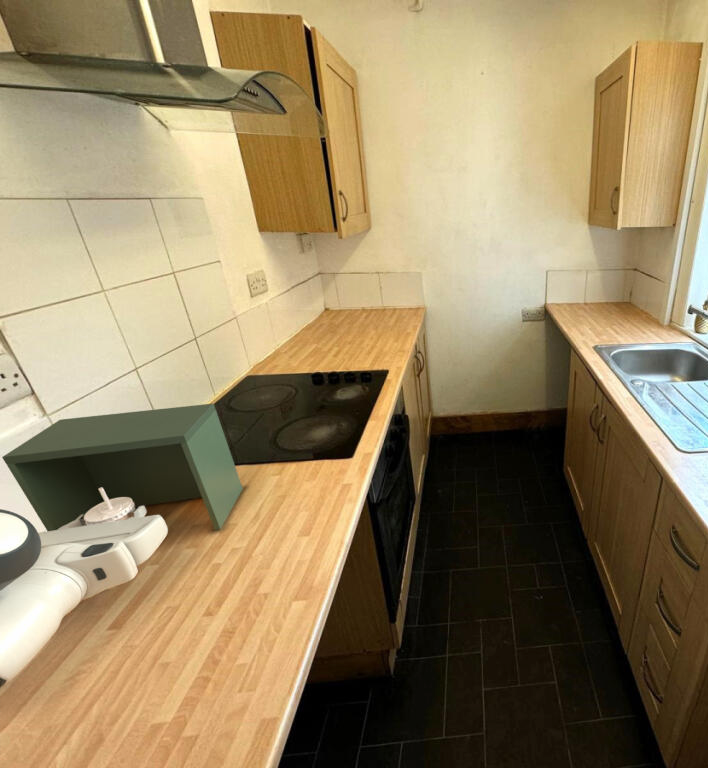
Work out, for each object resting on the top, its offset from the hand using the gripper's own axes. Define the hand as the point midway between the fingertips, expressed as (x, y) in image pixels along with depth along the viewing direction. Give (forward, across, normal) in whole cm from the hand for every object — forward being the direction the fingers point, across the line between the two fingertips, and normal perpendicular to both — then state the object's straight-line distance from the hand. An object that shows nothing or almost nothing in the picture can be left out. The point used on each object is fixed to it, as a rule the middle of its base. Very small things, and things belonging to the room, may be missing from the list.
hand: (115, 512), depth 73 cm
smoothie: (-1, 0, -8) cm, 8 cm away
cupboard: (+9, 0, -9) cm, 13 cm away
